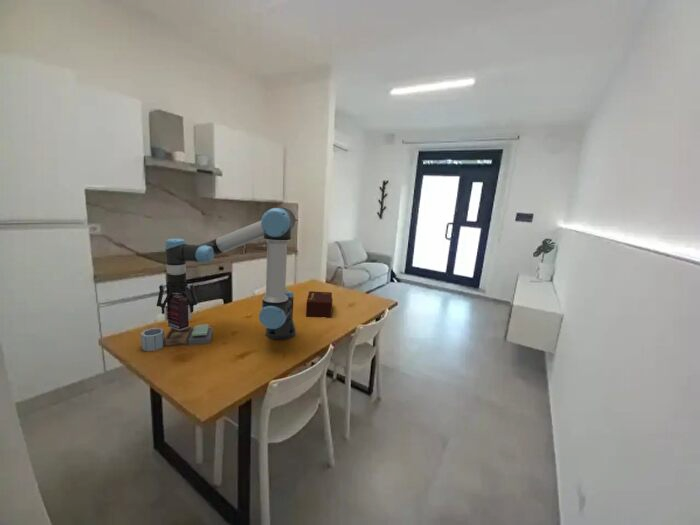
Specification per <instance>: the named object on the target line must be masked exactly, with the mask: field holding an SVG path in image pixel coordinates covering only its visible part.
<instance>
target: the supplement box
mask: <svg viewBox="0 0 700 525" xmlns="http://www.w3.org/2000/svg"><path fill="white" fill-rule="evenodd" d="M166 306H168V320H167V323H168V324H167V326H168V327H169V328H173V329H176V330H179V331H181V330H184V329H187V328H189V327H190V326H189V325H190V324H189V321H190V320H188V306H189V304H188V296H183V295H182V293H172V294H171V296H170V298H169V300H168V301H167V303H166Z"/></svg>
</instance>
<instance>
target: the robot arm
mask: <svg viewBox="0 0 700 525" xmlns="http://www.w3.org/2000/svg"><path fill="white" fill-rule="evenodd" d="M295 225H296V217H295V215H294V213H293V211H292V210H290V209H289V208H286V207H273V208H270V209H268V210H267V211H265V212H264V214H263V215H262V216H261V219H260V220H259V221H257V222H255V223H252V224H249V225H247V226H244V227H241V228H239V229H237V230H233V231H232V232H229V233H227V234H224V235H221V236H219V237H217V238H214V239H212V240H209V241H207V242H204V243H199V244H189V243H186V240H185V239H183V238H168V239H166V241H165V249H164V250H165V256H166V257H165V258H166V260H165V261H166V264H165V265H166V282H167V283H166V284H164V283H163V284H162V283H161V284H160V285H159V286H158V288H159V292H158V293H159V294H158V298H157V302H156V307H160V308H161V314H162V315H164V322H168V306H167V301H168V300H169V298H170V296H171V294H172V293H179V294H182V295H183V296H188V320H189V321H192V320H191V319H192V313H194V311H195V310H194V307H195V306H197V305H198V299H197V298H198V297H197V294H196V292H195V284H194V283H192V284H189V283H187V282H188V281H187V274H186V271H187V270H186V269H187V267H186V266H187V265H186V262H194V263H195V262H196V263H201V264H203V263H211V262H212V261H213V259H214V257H216V256H219V255H222V254H223V253H226V252H229V251H231V250H234V249H236V248H239V247H241V246H243V245H244V246H245V245H247V244H248V243H252V242H254V241H256V240H259V239H261V238H263V240H264V241H266V244H267V245H266V273H265V274H266V277H265V278H266V280H265V294H264V295H263V296H262V301H261V304H262V305H261V309H260V311H259V315H258V318H259V322H260V324H261V325H262V326H264V327H265V336H266V337H267V338H269V339H271V340H275V341H277V340H278V341H283V340H288V339H291V338H293V337H295V335H296V334H297V333H296V332H297V330H296V326H295V322H294V320H293V318H294V317H293V316H294V299H295V297H294V292H293V291H291V290H286V283H287V282H286V281H287V280H286V278H287V258H288V255H287V254H288V243H289V242H290V241H292V230H293V228H294V226H295ZM166 288H167V289H168V290H169V291H168V293H167V295H166V297H165V299H164V300H163V296H164V291H165V290H166ZM186 288H188V290H189V291H190V295H191V297H190V296H189V294H188V292H187V290H186ZM191 298H192V299H191ZM162 301H163V302H162Z"/></svg>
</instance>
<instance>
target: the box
mask: <svg viewBox="0 0 700 525" xmlns="http://www.w3.org/2000/svg"><path fill="white" fill-rule="evenodd" d="M332 294H333V293H332V292H331V291H330V292H329V291H328V292H327V291H313V290H312V291H308V295H307V299H306V307H305V308H306V309H305V312H306V313H305V317H307V318H321V317H326V319H331V318H332V311H333V309H334V307H333V301H334V298H333V296H332Z"/></svg>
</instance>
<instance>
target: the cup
mask: <svg viewBox="0 0 700 525" xmlns="http://www.w3.org/2000/svg"><path fill="white" fill-rule="evenodd" d="M140 339H141V350H143V351H144V352H155V351H158V350H161V349H162V348H164V339H165V330H164V329H163V328H160V327H154V328H149V329H145V330H143V331H141V333H140Z"/></svg>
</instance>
